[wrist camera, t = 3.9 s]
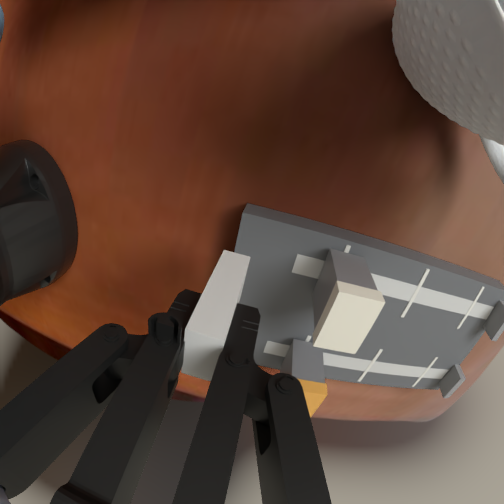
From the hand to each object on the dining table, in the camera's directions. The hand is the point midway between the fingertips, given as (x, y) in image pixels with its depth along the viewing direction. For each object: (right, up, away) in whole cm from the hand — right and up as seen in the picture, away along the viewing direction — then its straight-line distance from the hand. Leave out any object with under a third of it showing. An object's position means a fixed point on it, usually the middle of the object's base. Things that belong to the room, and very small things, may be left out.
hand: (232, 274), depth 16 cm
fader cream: (+7, 0, +2) cm, 7 cm away
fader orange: (+5, -7, +6) cm, 11 cm away
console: (+11, -4, +6) cm, 13 cm away
